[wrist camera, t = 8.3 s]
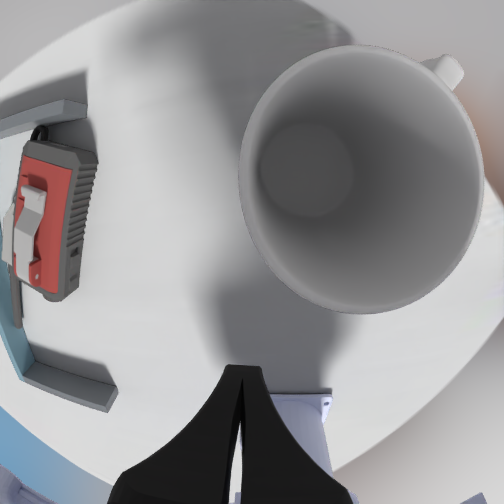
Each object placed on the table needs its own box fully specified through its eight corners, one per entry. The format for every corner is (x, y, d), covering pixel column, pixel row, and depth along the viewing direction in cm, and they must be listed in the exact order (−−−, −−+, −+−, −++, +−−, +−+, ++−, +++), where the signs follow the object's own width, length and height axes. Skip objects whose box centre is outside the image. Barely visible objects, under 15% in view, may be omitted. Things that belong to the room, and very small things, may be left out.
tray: (118, 393, 24) (107, 413, 21) (32, 365, 24) (19, 379, 21) (87, 104, 16) (64, 99, 13) (-6, 131, 16) (-28, 131, 13)
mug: (309, 242, 19) (376, 355, 7) (229, 176, 18) (175, 200, 6) (401, 133, 16) (538, 122, 5) (328, 65, 15) (409, -37, 4)
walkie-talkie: (33, 122, 16) (19, 317, 22) (-2, 120, 12) (-5, 337, 18) (109, 139, 17) (80, 354, 23) (75, 136, 13) (59, 380, 19)
